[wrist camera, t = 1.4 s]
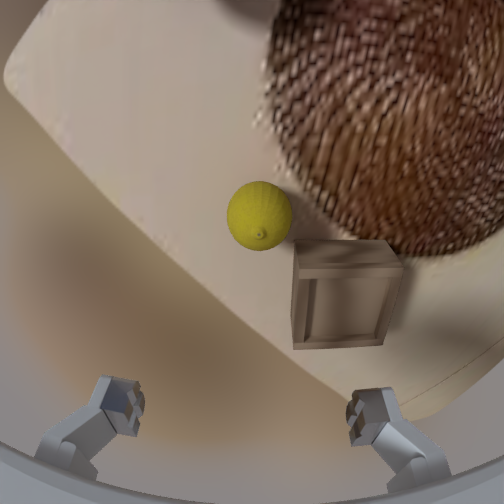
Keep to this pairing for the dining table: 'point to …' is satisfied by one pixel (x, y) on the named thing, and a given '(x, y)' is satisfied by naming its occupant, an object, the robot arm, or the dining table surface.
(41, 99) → the dining table surface
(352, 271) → the walnut tray
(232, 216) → the lemon
